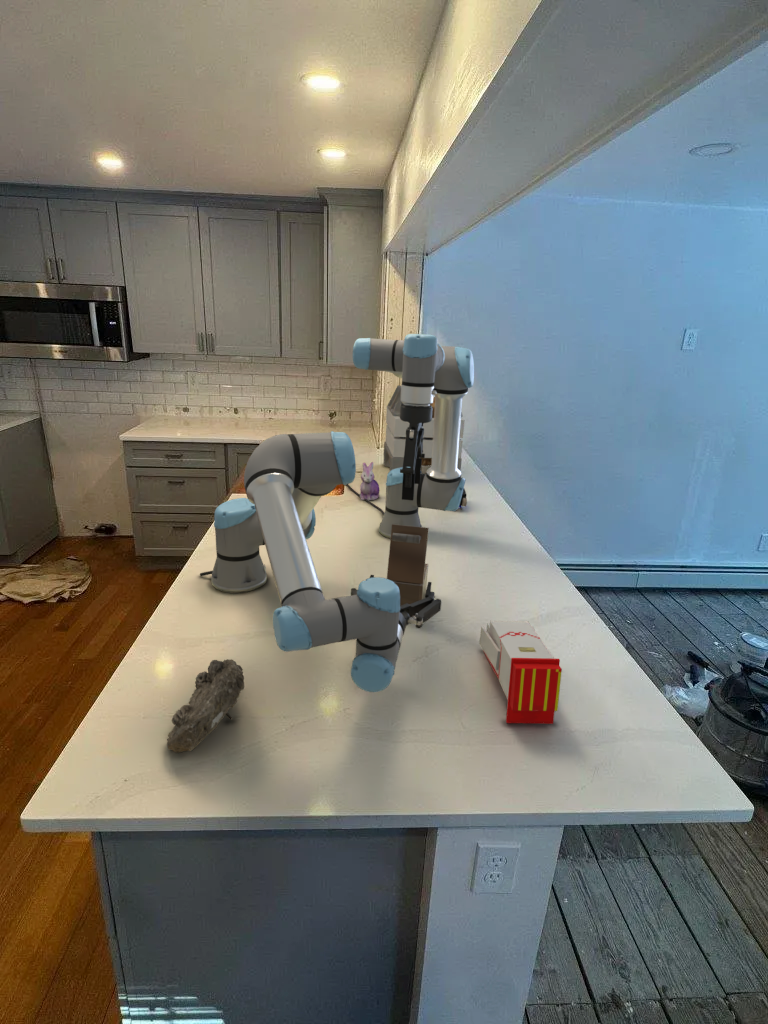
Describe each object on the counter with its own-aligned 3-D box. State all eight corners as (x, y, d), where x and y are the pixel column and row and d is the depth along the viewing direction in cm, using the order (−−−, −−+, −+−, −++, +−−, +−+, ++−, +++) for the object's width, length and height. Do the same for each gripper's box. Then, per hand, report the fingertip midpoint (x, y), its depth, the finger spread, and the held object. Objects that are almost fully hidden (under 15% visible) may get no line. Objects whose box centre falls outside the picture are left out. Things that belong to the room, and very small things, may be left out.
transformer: (382, 463, 289) (386, 382, 275) (445, 464, 293) (451, 384, 279) (390, 482, 257) (394, 392, 243) (460, 483, 261) (468, 394, 247)
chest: (393, 587, 161) (395, 560, 158) (426, 591, 160) (428, 563, 157) (385, 611, 148) (386, 581, 146) (420, 616, 147) (422, 586, 144)
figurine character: (467, 515, 225) (461, 499, 238) (469, 498, 221) (463, 482, 235) (450, 514, 224) (445, 498, 238) (452, 497, 221) (447, 482, 234)
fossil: (192, 660, 117) (244, 628, 112) (224, 691, 120) (276, 661, 115) (142, 746, 98) (202, 712, 93) (182, 779, 101) (242, 748, 96)
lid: (392, 524, 145) (387, 525, 137) (428, 527, 144) (425, 529, 135) (387, 579, 146) (382, 584, 137) (423, 583, 145) (420, 588, 136)
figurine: (364, 502, 230) (365, 466, 225) (353, 495, 238) (354, 460, 233) (384, 500, 234) (386, 464, 229) (373, 492, 242) (375, 458, 237)
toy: (526, 605, 135) (570, 665, 105) (521, 658, 137) (563, 730, 108) (475, 604, 134) (506, 664, 105) (472, 657, 137) (500, 729, 108)
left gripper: (324, 639, 117) (348, 590, 136) (445, 656, 113) (452, 604, 133) (324, 607, 114) (349, 562, 134) (449, 623, 110) (455, 575, 130)
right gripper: (427, 414, 119) (420, 508, 127) (437, 397, 142) (431, 478, 150) (392, 411, 120) (387, 505, 128) (407, 395, 144) (403, 475, 151)
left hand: (400, 583), depth 133 cm, fingers open, 13 cm apart
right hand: (411, 491), depth 139 cm, fingers open, 13 cm apart
